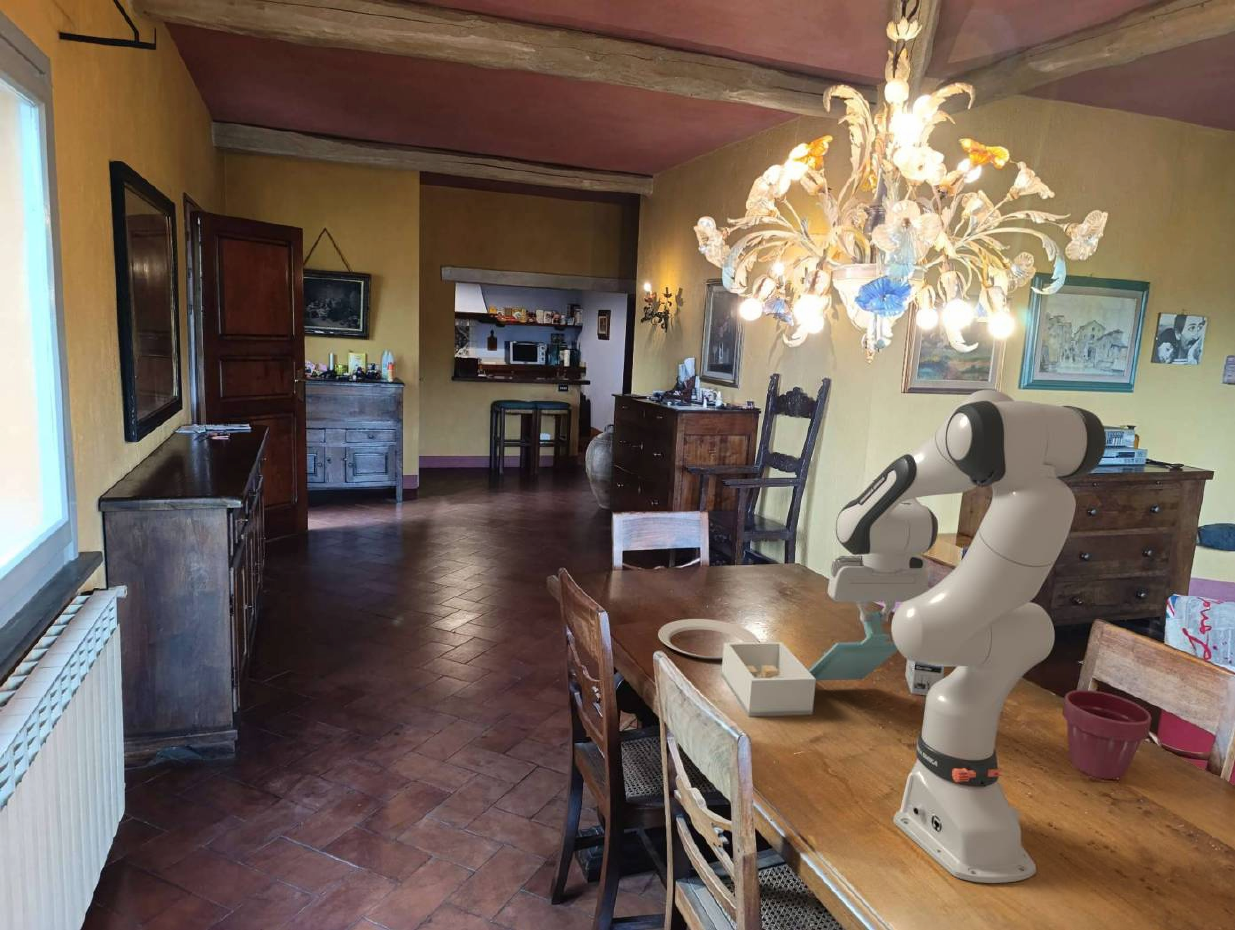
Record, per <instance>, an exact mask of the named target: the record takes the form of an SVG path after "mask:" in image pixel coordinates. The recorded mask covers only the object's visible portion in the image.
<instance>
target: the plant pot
mask: <svg viewBox="0 0 1235 930" xmlns="http://www.w3.org/2000/svg"><path fill="white" fill-rule="evenodd" d="M1151 715H1152V714H1150V712H1149V711H1148V710H1147V709H1145V708H1144V707H1142V706H1141V705H1139V704H1138V703H1135V702H1133V701H1131V700H1129V699H1126V698H1124V697H1122V696H1118V695H1114V694H1111V693H1107V692H1102V691H1097V690H1089V689H1078V690H1075V689H1074V690H1072V691H1069V692H1067V693H1066V694H1065V695H1064V700H1063V705H1062V716H1063V719H1065V720H1066V726H1067V727H1066V728H1067V739H1068V749H1069V758H1070V763H1071V764H1072V765H1073V766H1074V767H1075V768H1076V769H1078V770H1079V769H1080V770H1079V771H1081V772H1082V771H1083V773H1084V772H1085V773H1084V774H1087V775H1089V774H1090V775H1089V776H1092V777H1094V778H1098V777H1100V778H1099V779H1102V778H1105V779H1104V780H1108V779H1117V778H1121V777H1123V776H1124V777H1125V774H1126V772H1127V771H1128V769H1129V767H1130V765H1131V762H1132V761H1133V758H1134V756H1135V755H1136V753H1137V750H1138V747H1139V746H1140V744H1141V742H1142V741H1143V740H1145V739H1147V738H1148V736H1149V733H1150V729H1151V723H1152V716H1151ZM1124 777H1123V778H1124ZM1121 779H1122V778H1121Z"/></svg>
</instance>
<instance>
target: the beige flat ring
mask: <svg viewBox="0 0 1235 930" xmlns="http://www.w3.org/2000/svg"><path fill="white" fill-rule="evenodd" d="M690 630H691V631H694V630H706V631H714V632H720V633H723V634H727V635H731V636H733V637H735V638H737V639H739V640H740V641H742V643H747V642H759V639H758V637H757V636H756V635H755V634H754V633H753V632H752V631H750V630H749V629H746V628H744V627H742V626H740V625H738V624H734V623H732V622H731V623H730V622H726V621H722V620H715V619H705V618H687V619H679V620H674V621H671V622H668V623H666V624H664V625H663V626H661V627H660V629H658V634H657V636H658V638H659V640H660V641H661V643H663V644H665V645H666V646H667V647H669V648H671V649H673V650H675V651H677V652H679V653H682V654H683V655H686V656H690V657H693V658H699V659H704V660H723V656H708V655H707V656H706V655H700V654H694V653H690V652H688V651H685V650H682V649H680V648H678V647H676V646H675V645H673V644H672V643H671V638H672V637H673V636H674V635H676V634H678V633H681V632H686V631H690Z"/></svg>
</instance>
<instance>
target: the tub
mask: <svg viewBox="0 0 1235 930" xmlns="http://www.w3.org/2000/svg"><path fill="white" fill-rule="evenodd" d="M722 657H723V659H722V662H721V674H720V675H721V677H722V679H723V680H724V682H725V683H726V685H727V686H728V688H729V689H730V691H731V693H732V694H733V695H734V697H735V699H736V700H737V701H738V703H739V704H740V706H741V707H742V709H743V711H744V712H745V713H746V714H747V716H748V717H776V716H777V717H778V716H779V717H780V716H781V717H782V716H783V717H784V716H809V715H810V716H811V715H812V716H813V710H814V703H815V702H814V701H815V690H816V679H815V678H814V677H813V676H812V675H811V673H810V672H809V671H808V670H809V669H808V668H806V667H805V666H804V665H803V663H802V662H801V661H800V660H799V659H798V658H797V657H796V656H795V654H793V653H792V651H791V650H790V649H789V648H788V647H787V646H786V645H785V644H784V642H782V641H774V642H773V641H769V642H768V641H763V642H761V641H760V642H747V643H744V642H723V650H722Z"/></svg>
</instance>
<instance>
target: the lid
mask: <svg viewBox="0 0 1235 930" xmlns="http://www.w3.org/2000/svg"><path fill="white" fill-rule="evenodd" d="M868 612H869V613H870V614H871V618H870V619H871V621H870V622H862V624H863V625H862V626H863V629H864V632H865V638H864V639H863V640H861V641H837V642H836V643H835V644H834V645H833V646H831V648H829V649H828V650H827V651H824V652H823V655H822V657H820V658H819V659H818V660H817V661H816V662H813V663H811V665H812V666H811V667H810V668H808V669H807V670H808V671H809V672H810V673H811V675H812V676H813V677H814V678H815V679H816V681H851V680H853V681H854V680H858V681H859V680H863V679H865V678H866V677H868V676H869V675H870V674H872V673H873V672H874V671H875V670H876V669H877V668H878V667H880V666H881V665H882V664H883V663H884V662H886V661H887V660H888V659H890V658H891V657H892V656H893V655H894V654H895V653H897V652H899V651H898V649H897V647H896V645H895V643H894V641H887V640H889V639H890V638H891V637H892V633H885V632H884V628H883V625H882V622H881V620H880V616H879V613H878V611H868Z"/></svg>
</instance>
